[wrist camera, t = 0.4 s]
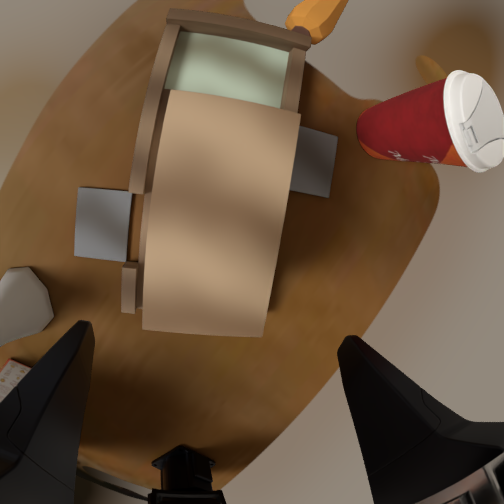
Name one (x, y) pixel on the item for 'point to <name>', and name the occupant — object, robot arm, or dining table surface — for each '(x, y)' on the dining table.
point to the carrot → (315, 18)
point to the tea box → (216, 214)
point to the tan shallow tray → (213, 83)
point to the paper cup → (438, 124)
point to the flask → (22, 305)
